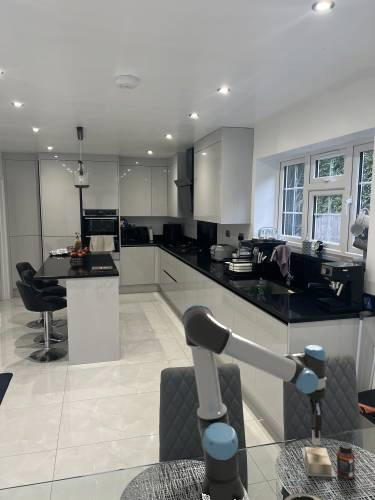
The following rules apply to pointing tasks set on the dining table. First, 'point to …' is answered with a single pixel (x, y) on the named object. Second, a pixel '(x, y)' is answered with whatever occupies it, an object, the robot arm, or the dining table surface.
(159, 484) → the dining table surface
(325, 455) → the small box
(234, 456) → the robot arm
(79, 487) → the dining table surface
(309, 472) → the grey mat
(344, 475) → the supplement bottle
